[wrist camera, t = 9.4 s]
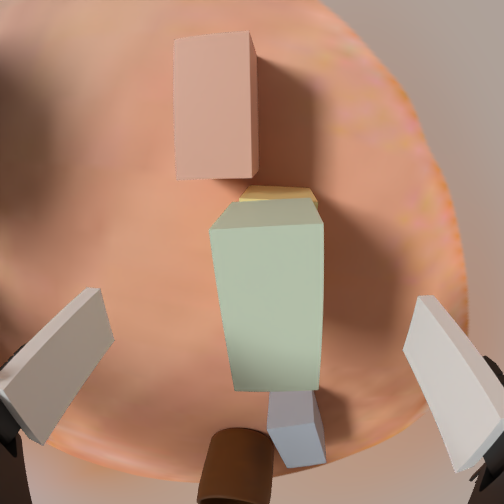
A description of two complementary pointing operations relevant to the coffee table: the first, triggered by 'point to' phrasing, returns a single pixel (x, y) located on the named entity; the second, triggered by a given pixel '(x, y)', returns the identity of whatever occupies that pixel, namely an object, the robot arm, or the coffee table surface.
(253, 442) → the mug
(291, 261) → the sage brick
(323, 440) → the slate brick
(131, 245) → the coffee table surface
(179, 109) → the terracotta brick
